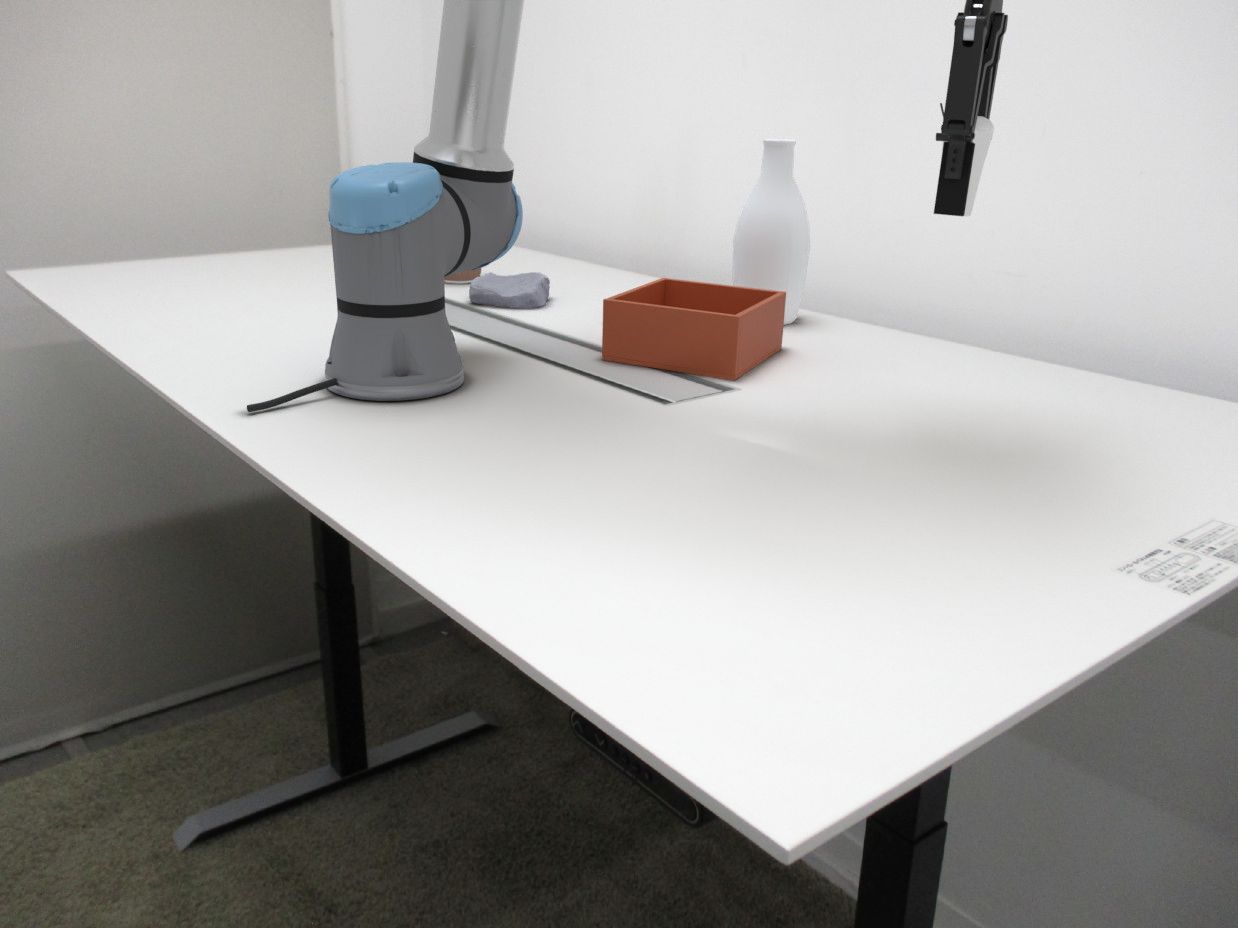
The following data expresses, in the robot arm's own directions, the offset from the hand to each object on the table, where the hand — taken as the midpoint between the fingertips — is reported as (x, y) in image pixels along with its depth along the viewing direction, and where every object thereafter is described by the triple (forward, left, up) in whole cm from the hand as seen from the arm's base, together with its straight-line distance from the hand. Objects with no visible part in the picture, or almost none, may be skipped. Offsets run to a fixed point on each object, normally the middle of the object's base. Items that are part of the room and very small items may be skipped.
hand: (953, 211), depth 97 cm
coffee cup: (+39, +85, -22) cm, 96 cm away
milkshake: (0, 0, 0) cm, 1 cm away
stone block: (+28, +68, -22) cm, 77 cm away
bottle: (+39, +31, -22) cm, 54 cm away
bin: (+14, +32, -22) cm, 40 cm away
